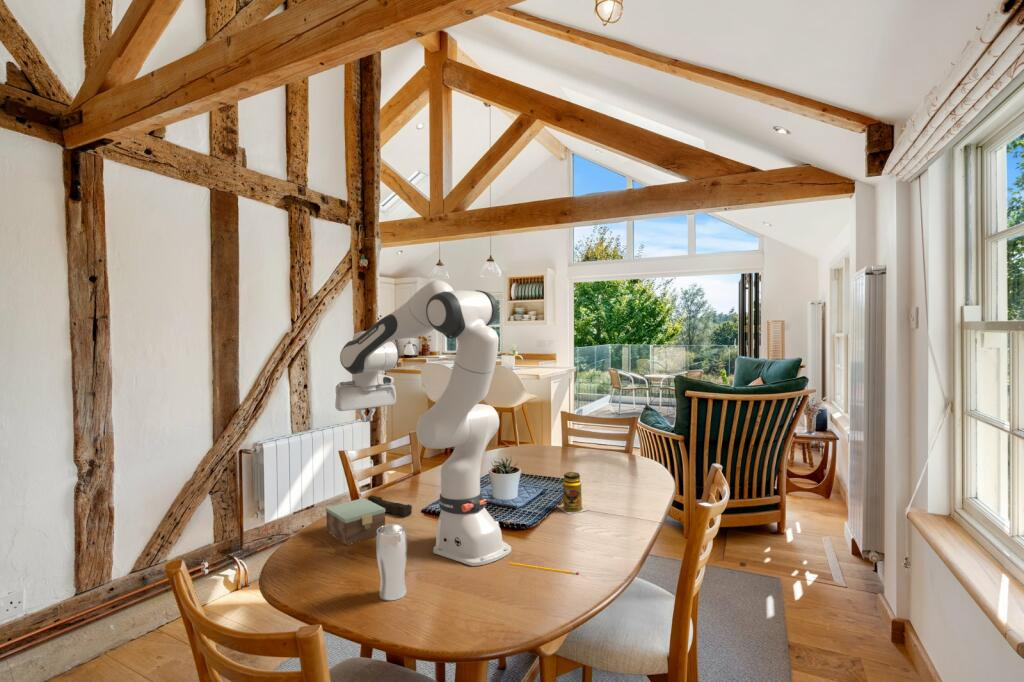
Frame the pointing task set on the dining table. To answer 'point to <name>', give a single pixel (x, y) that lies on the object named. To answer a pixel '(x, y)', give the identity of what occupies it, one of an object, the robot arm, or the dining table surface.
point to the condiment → (572, 493)
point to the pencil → (544, 568)
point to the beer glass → (392, 560)
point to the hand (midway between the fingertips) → (367, 421)
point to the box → (354, 528)
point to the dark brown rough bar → (392, 506)
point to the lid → (356, 511)
